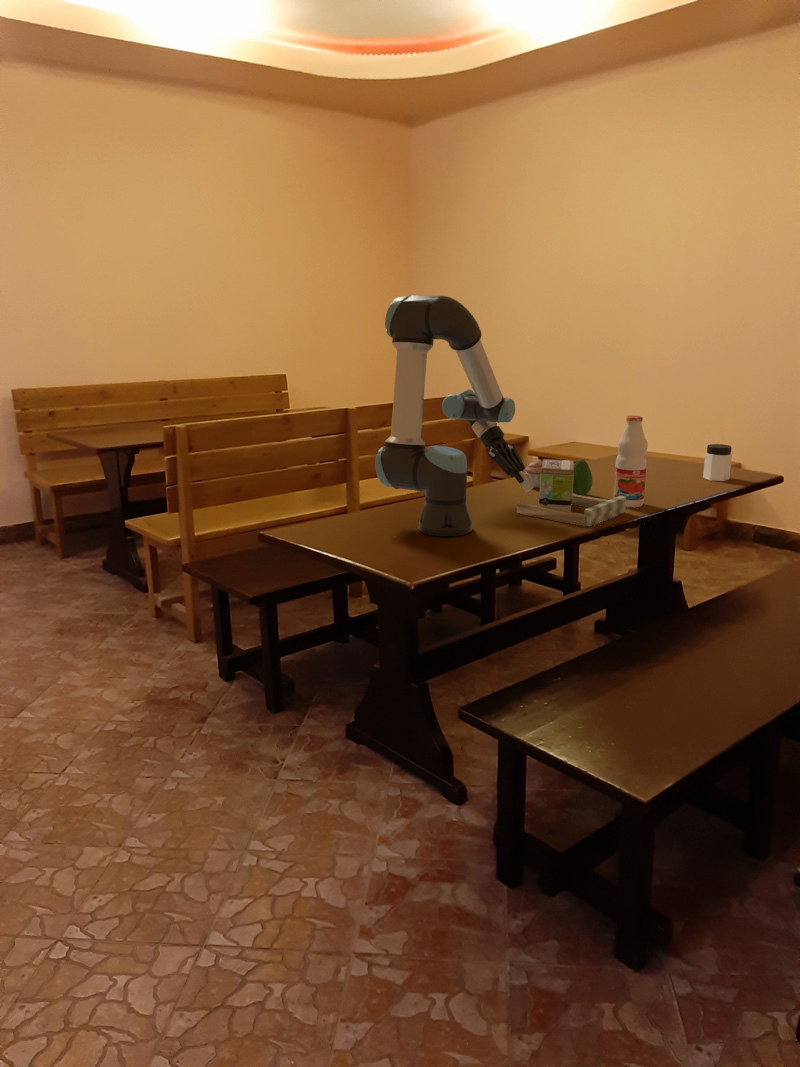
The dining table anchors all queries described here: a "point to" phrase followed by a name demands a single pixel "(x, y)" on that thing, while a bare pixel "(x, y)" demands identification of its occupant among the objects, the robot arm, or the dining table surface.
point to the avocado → (582, 478)
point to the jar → (717, 462)
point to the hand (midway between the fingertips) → (530, 489)
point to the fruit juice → (631, 463)
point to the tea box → (556, 484)
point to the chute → (592, 515)
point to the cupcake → (534, 472)
